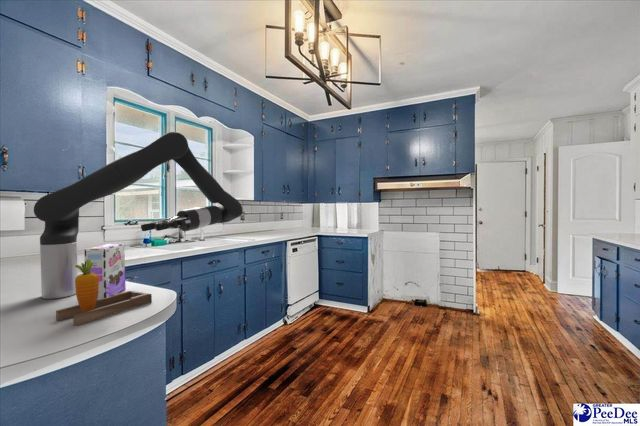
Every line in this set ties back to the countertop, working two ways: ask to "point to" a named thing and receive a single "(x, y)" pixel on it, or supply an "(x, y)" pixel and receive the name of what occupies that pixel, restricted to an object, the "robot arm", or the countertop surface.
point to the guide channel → (105, 307)
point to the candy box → (108, 268)
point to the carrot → (86, 287)
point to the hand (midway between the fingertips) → (148, 227)
